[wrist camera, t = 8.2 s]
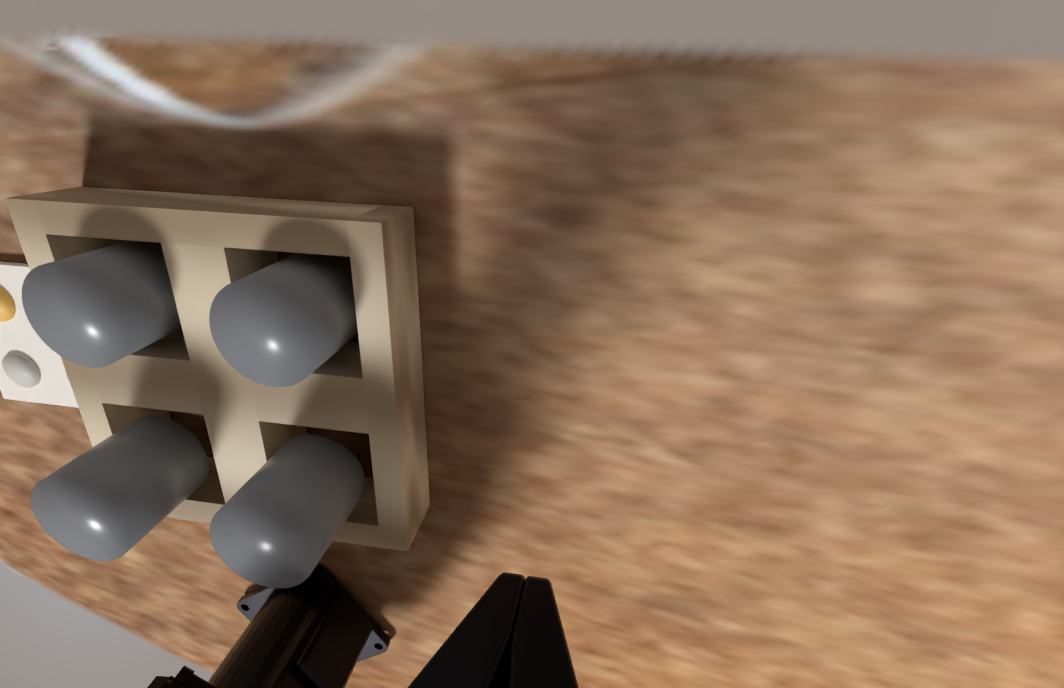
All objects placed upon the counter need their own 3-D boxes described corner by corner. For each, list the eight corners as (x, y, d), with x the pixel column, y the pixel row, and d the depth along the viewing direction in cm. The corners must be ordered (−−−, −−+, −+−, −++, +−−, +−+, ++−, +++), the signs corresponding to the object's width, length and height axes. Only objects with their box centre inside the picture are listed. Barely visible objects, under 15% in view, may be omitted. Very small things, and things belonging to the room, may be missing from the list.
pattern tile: (138, 409, 26) (128, 415, 26) (12, 394, 27) (0, 400, 27) (95, 269, 23) (83, 272, 23) (-44, 257, 24) (-58, 260, 24)
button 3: (369, 515, 23) (320, 595, 19) (285, 504, 23) (221, 580, 20) (360, 439, 21) (306, 510, 18) (271, 429, 22) (199, 495, 18)
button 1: (376, 344, 22) (326, 392, 18) (288, 335, 22) (221, 381, 19) (367, 251, 20) (311, 284, 17) (273, 244, 21) (197, 274, 17)
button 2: (217, 328, 23) (138, 372, 19) (135, 321, 23) (43, 362, 20) (197, 239, 21) (107, 267, 18) (110, 232, 22) (5, 259, 18)
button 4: (217, 495, 24) (142, 567, 20) (138, 484, 24) (51, 553, 20) (198, 420, 22) (113, 484, 18) (115, 410, 23) (16, 470, 19)
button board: (430, 504, 26) (407, 551, 23) (164, 470, 28) (114, 509, 25) (413, 207, 20) (381, 222, 18) (80, 186, 22) (4, 198, 19)
